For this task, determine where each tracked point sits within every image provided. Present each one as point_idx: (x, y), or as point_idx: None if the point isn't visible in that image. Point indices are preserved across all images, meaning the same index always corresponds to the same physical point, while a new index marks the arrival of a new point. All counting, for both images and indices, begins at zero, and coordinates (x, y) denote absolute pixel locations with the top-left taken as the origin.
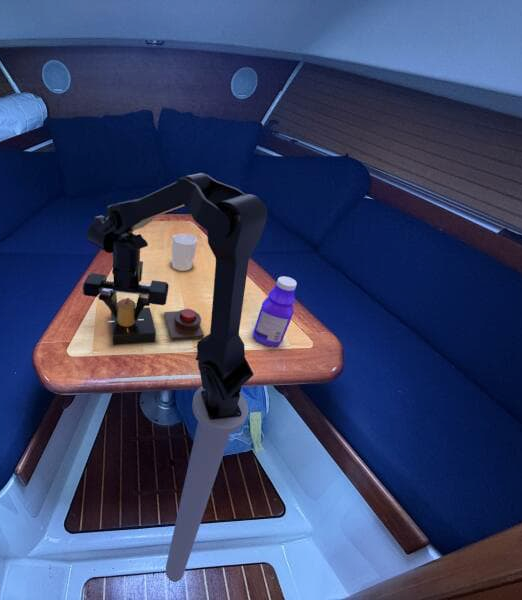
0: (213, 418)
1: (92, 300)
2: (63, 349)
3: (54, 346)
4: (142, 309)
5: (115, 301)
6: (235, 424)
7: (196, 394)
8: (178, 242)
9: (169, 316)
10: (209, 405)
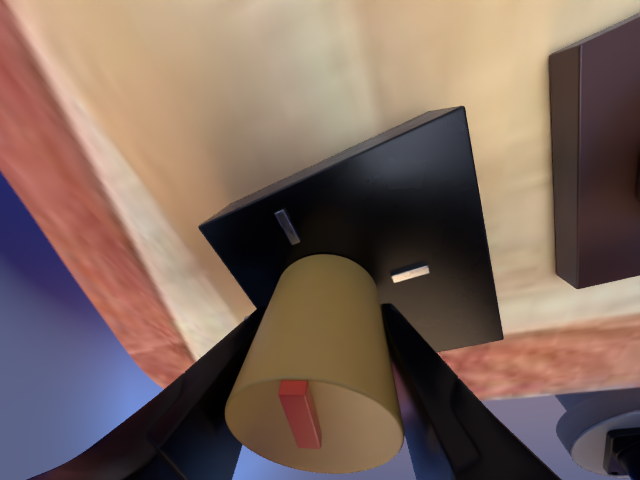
0: (617, 475)
1: (32, 67)
2: (190, 364)
3: (161, 360)
4: (402, 159)
5: (205, 450)
6: None
7: (591, 433)
8: None
9: (616, 99)
10: (627, 474)
